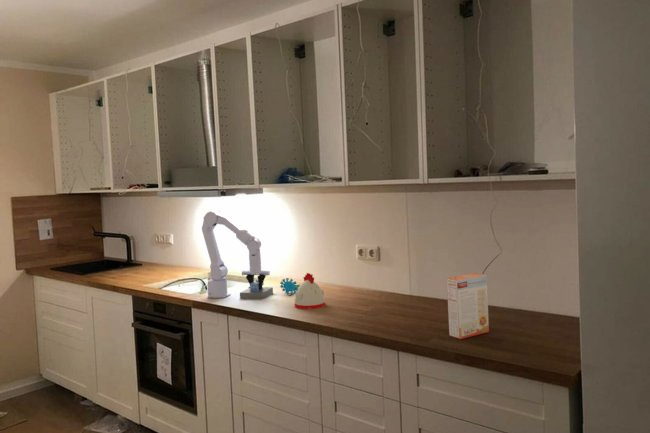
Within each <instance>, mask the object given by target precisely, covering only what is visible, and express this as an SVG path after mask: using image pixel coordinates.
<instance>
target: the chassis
mask: <svg viewBox="0 0 650 433" xmlns="http://www.w3.org/2000/svg"><path fill="white" fill-rule="evenodd" d="M272 294H274V288H273V287H267V286H266V287H265V286H262V290H261V291H259V292H253V291H250V288H249V287H248V288H247V289H245V290H243V291H240V292H239V299H240V300H241V299H242V300H245V299H246V300H247V299H248V300H263V299H265V298H267V297H269V296H271V295H272Z"/></svg>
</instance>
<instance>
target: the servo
mask: <svg viewBox="0 0 650 433" xmlns="http://www.w3.org/2000/svg"><path fill="white" fill-rule="evenodd" d="M264 285H265V283H264V282H263V286H264ZM249 288H250V291H253V292H259V291H261V290H262V289H261V290H259V281H258V279H255V280H254V282H252V283H250V284H249V286H248V289H249Z"/></svg>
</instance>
